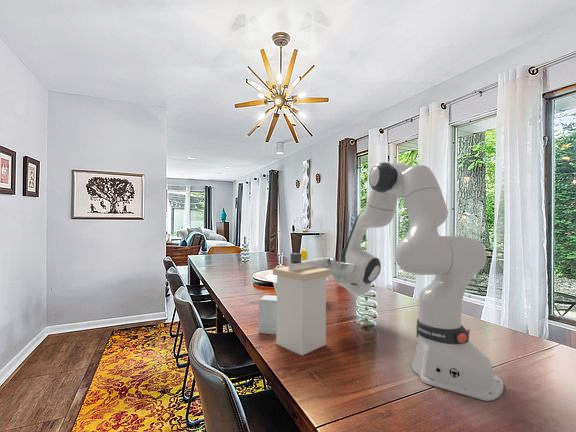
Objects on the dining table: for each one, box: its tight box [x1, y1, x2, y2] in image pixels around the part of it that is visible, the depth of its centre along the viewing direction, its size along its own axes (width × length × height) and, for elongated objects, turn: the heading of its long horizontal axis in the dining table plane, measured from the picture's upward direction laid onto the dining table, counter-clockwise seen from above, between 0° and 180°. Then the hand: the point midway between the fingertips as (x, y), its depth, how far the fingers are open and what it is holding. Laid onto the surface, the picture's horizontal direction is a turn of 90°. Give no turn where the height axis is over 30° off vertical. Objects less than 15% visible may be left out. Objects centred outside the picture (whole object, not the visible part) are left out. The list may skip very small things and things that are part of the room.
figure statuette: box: [301, 249, 308, 261], centre depth 200 cm, size 18×8×22 cm, turn 26°
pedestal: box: [272, 265, 332, 356], centre depth 108 cm, size 14×14×26 cm
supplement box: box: [258, 294, 277, 335], centre depth 121 cm, size 7×7×13 cm
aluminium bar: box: [288, 252, 336, 271], centre depth 112 cm, size 4×22×6 cm, turn 135°
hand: (326, 260), depth 117 cm, fingers open, 3 cm apart
